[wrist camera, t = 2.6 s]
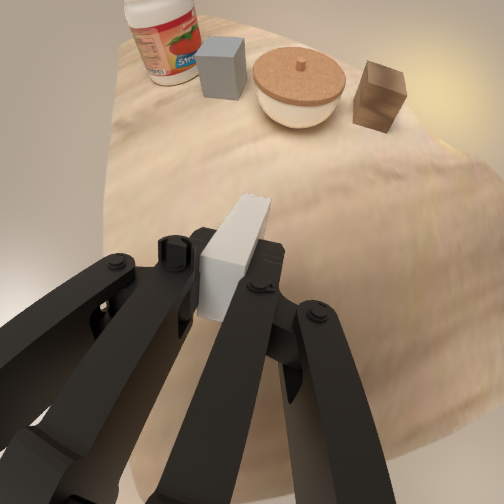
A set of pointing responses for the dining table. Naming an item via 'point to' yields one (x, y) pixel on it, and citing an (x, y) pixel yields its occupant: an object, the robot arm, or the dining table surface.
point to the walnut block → (379, 97)
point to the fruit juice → (165, 38)
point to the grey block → (222, 67)
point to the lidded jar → (298, 86)
